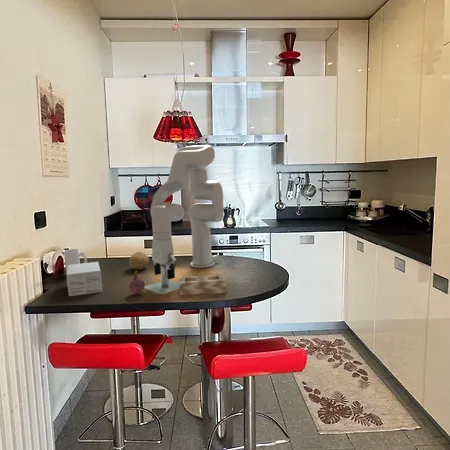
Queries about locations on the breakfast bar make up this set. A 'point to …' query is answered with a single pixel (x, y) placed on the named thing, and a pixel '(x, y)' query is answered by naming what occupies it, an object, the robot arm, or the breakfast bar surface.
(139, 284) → the vegetable
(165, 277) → the pin
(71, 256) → the mug
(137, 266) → the potato
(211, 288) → the hole block
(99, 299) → the breakfast bar surface
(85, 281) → the supplement box
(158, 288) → the mat
